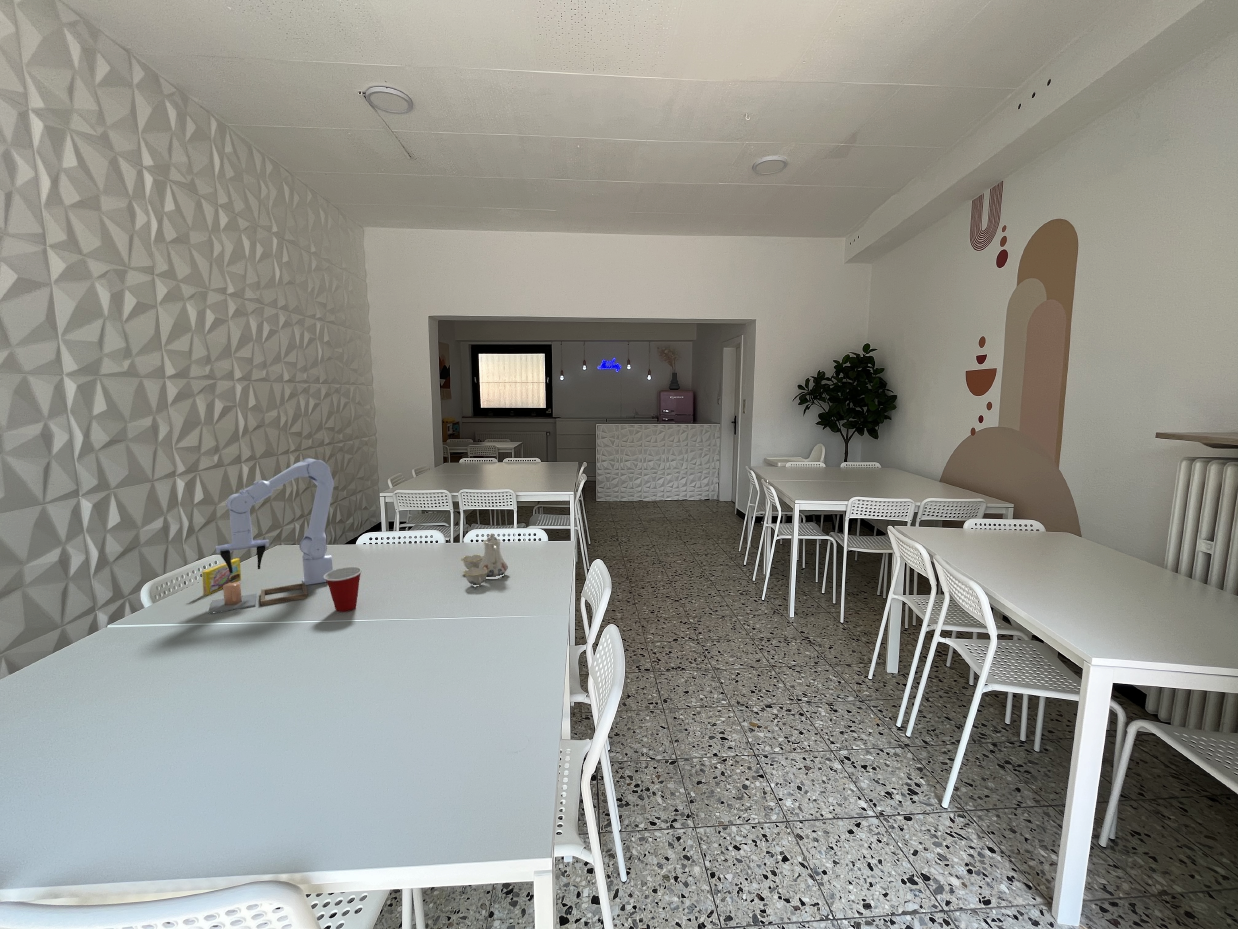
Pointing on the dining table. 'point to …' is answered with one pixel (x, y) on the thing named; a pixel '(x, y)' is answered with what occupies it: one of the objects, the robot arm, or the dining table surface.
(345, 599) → the plastic cup
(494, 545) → the chinaware
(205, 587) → the candy box
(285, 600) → the frame
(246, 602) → the grey mat
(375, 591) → the dining table surface
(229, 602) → the peach rounded block
